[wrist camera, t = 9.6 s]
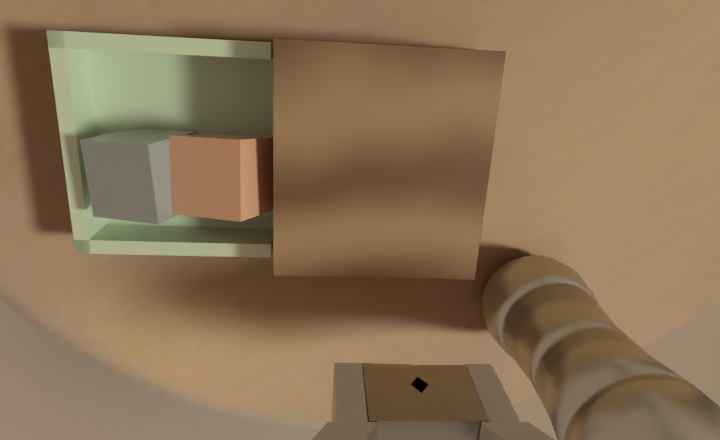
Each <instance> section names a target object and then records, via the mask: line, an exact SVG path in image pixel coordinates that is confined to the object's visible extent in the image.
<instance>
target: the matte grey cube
mask: <svg viewBox="0 0 720 440" xmlns="http://www.w3.org/2000/svg"><path fill="white" fill-rule="evenodd" d="M186 134H197V131H182V130H165V129H147V128H133V129H128V130H124V131H119V132H114V133H110V134H105V135H101V136H96V137H91V138H87V139H82V140H80V143H81V148H82V154H83V160H84V166H85V171H86V177H87V183H88V188H89V194H90V200H91V206H92V211H93V217H100V218H108V219H117V220H125V221H133V222H142V223H150V224H160V223H162V222H165V221H167V220H169V219H171V218H173V217H175V216H177V214H172V200H171V172H170V143H169V135H186Z"/></svg>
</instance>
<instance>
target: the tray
mask: <svg viewBox="0 0 720 440" xmlns="http://www.w3.org/2000/svg"><path fill="white" fill-rule="evenodd" d="M46 33H47V41H48V49H49V56H50V64H51V71H52V79H53V87H54V94H55V102H56V109H57V117H58V125H59V132H60V140H61V147H62V155H63V163H64V170H65V178H66V185H67V193H68V201H69V208H70V216H71V223H72V231H73V239H74V246H75V253H84V254H129V255H175V256H220V257H265V258H271V256H272V252H273V210H272V211H269V212H266V213H264V214H261V215H258V216H255V217H253V218H250V219H247V220H244V221H242V222H238V221H229V220H220V219H212V218H203V217H194V216H186V215H177V216H175V217H173V218H171V219H169V220H167V221H165V222H162V223H160V224H150V223H142V222H133V221H125V220H117V219H108V218H100V217H93V211H92V206H91V200H90V194H89V188H88V183H87V177H86V171H85V166H84V160H83V154H82V148H81V143H80V140H82V139H87V138H91V137H96V136H101V135H105V134H110V133H114V132H119V131H124V130H128V129H133V128H147V129H165V130H182V131H197V134H205V133H223V134H239V135H256V136H273V42H259V41H241V40H223V39H205V38H187V37H169V36H151V35H133V34H115V33H97V32H79V31H56V30H46Z"/></svg>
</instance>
